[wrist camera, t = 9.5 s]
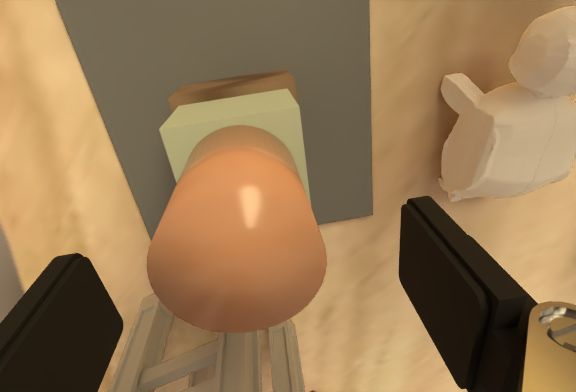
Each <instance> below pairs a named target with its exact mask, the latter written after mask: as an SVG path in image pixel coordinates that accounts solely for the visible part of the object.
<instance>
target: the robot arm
mask: <svg viewBox="0 0 576 392" xmlns="http://www.w3.org/2000/svg"><path fill="white" fill-rule="evenodd" d="M399 278H400V282H401V284H402V286H403V288H404V290H405V292H406V293H407V295H408V297H409V299H410V301H411V302H412V304H413V306H414V308H415V310H416V311H417V313H418V315H419V317H420V319H421V320H422V322H423V324H424V326H425V328H426V330H427V331H428V333H429V335H430V337H431V339H432V340H433V342H434V344H435V346H436V348H437V349H438V351H439V353H440V355H441V357H442V358H443V360H444V362H445V364H446V366H447V367H448V369H449V371H450V373H451V375H452V377H453V378H454V380H455V382H456V384H457V385H458V386H459V387H460V388H461V389H467V391H468V392H576V305H574V304H569V303H564V302H544V303H540V304H538V303H537V302H536V301H535V300H534V299H533V298H532V297H531V296H530V295H529V294H528V293H527V292H526V291H525V290H524V289H523V288H522V287H521V286H520V285H519V284H518V283H517V282H516V281H515V280H514V279H513V278H512V277H511V276H510V275H509V274H508V273H507V272H506V271H505V270H504V269H503V268H502V267H501V266H500V265H499V264H498V263H497V262H496V261H495V260H494V259H493V258H492V257H491V256H490V255H489V254H488V253H487V252H486V251H485V250H484V249H483V248H482V247H481V246H480V245H479V244H478V243H477V242H476V241H475V240H474V239H473V238H472V237H471V236H469V235H467V234H466V233H465V232H464V231H463V230H462V229H461V228H460V227H459V226H458V225H457V224H456V223H455V222H454V221H453V220H452V218H451V217H450V216H449V215H448V214H447V213H446V212H445V211H444V210H443V209H442V208H441V207H440V206H439V205H438V204H437V203H436V202H435V201H434V200H433V199H432V198H431V197H429V196H423V197H417V198H411V199H408V201H407V204H404V205H402V208H401V229H400V253H399ZM122 331H123V320H122V318H121V316H120V314H119V312H118V310H117V309H116V307H115V305H114V303H113V301H112V300H111V298H110V296H109V294H108V292H107V290H106V289H105V287H104V285H103V283H102V281H101V279H100V278H99V276H98V274H97V272H96V270H95V269H94V267H93V265H92V263H91V261H90V260H89V258H87V257H83V255H81V254H79V253H75V254H68V255H62V256H57V257H55V258H54V259H53V260H52V261H51V262H50V264H49V265H48V266H47V267H46V268H45V270H44V271H43V272H42V273H41V275H40V276H39V277H38V278H37V279H36V281H35V282H34V283H33V284H32V285H31V287H30V288H29V289H28V290H27V292H26V293H25V294H24V295H23V297H22V298H21V299H20V300H19V301H18V303H17V304H16V305H15V306H14V308H13V309H12V310H11V311H10V312H9V313H8V315H7V316H6V317H5V318H4V320H3V321H2V322H1V323H0V392H98V389H99V387H100V384H101V382H102V380H103V377H104V375H105V372H106V370H107V368H108V365H109V363H110V360H111V358H112V355H113V353H114V351H115V348H116V346H117V343H118V341H119V339H120V336H121V334H122Z"/></svg>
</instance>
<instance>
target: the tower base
mask: <svg viewBox="0 0 576 392" xmlns="http://www.w3.org/2000/svg"><path fill="white" fill-rule="evenodd" d="M287 88H288V90H289V91H290V93H291V95H292V96H293V98H294V99H295V101H296V102H297V104H298V101H297V93H296V84H295V78H294V77H293V76H292V75H291V74H290V73H289V72H288V70H287V69H281V70H274V71H268V72H262V73H256V74H249V75H243V76H237V77H230V78H224V79H218V80H211V81H205V82H199V83H193V84H186V85H182V86H181V87H180V88H179V89H178V90H177V91H176V92H175V93H173V94H172V95H171V96H170V97H169V98H168V100H169V104H170V107H171V110H172V113H173V112H174V111H175V110H176V109H177V107H178V106H181V105H187V104H193V103H200V102H206V101H212V100H218V99H224V98H231V97H237V96H243V95H249V94H255V93H262V92H268V91H274V90H280V89H287Z"/></svg>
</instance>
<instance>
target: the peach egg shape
mask: <svg viewBox="0 0 576 392" xmlns="http://www.w3.org/2000/svg"><path fill="white" fill-rule="evenodd" d="M326 266H327V255H326V249H325V245H324V242H323V239H322V236H321V234H320V231H319V228H318V225H317V222H316V220H315V217H314V214H313V211H312V208H311V206H310V203H309V200H308V197H307V194H306V192H305V189H304V186H303V183H302V180H301V178H300V175H299V172H298V169H297V166H296V164H295V161H294V158H293V156H292V154H291V152H290V151H289V149H288V148H287V146H286V145H285V144H284V143H283V142H282V141H281V140H280V139H278V138H277V137H276V136H275V135H273V134H271V133H270V132H268V131H265V130H263V129H260V128H257V127H253V126H247V125H234V126H228V127H223V128H221V129H218V130H215V131H213V132H212V133H210V134H208V135H207V136H205V137H204V138H203V139H202V140H201V141H199V142H198V143H197V145H196V146H195V147H194V148H193V150H192V152H191V154H190V155H189V157H188V160H187V162H186V164H185V167H184V169H183V171H182V173H181V176H180V178H179V180H178V182H177V185H176V187H175V189H174V191H173V194H172V196H171V198H170V200H169V203H168V205H167V207H166V209H165V212H164V214H163V216H162V218H161V221H160V223H159V225H158V227H157V230H156V232H155V234H154V236H153V239H152V241H151V244H150V247H149V250H148V256H147V272H148V278H149V281H150V284H151V286H152V288H153V290H154V292H155V294H156V296H157V297H158V298H159V300H160V301H161V302H162V303H163V304H164V306H165V307H166V308H167V309H168V310H170V311H171V312H172V313H173V314H175V315H176V316H178V317H179V318H181V319H182V320H184V321H186V322H188V323H190V324H192V325H195V326H197V327H200V328H203V329H207V330H211V331H216V332H223V333H246V332H253V331H258V330H263V329H267V328H270V327H273V326H275V325H278V324H280V323H282V322H284V321H286V320H288V319H290V318H291V317H293V316H294V315H296V314H297V313H299V312H300V311H301V310H302V309H303V308H305V307H306V306H307V305H308V304H309V303H310V301H311V300H312V299H313V298H314V297H315V295H316V294H317V292H318V291H319V289H320V287H321V284H322V282H323V279H324V276H325V273H326Z"/></svg>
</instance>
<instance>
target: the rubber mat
mask: <svg viewBox="0 0 576 392" xmlns="http://www.w3.org/2000/svg"><path fill="white" fill-rule="evenodd" d="M55 1H56V4H57V6H58V9H59V11H60V14H61V16H62V19H63V21H64V24H65V26H66V29H67V31H68V34H69V36H70V39H71V41H72V44H73V46H74V49H75V51H76V54H77V56H78V59H79V61H80V64H81V66H82V69H83V71H84V74H85V76H86V79H87V81H88V84H89V86H90V88H91V91H92V93H93V96H94V98H95V101H96V103H97V106H98V108H99V111H100V113H101V116H102V118H103V121H104V123H105V126H106V128H107V131H108V133H109V136H110V138H111V141H112V143H113V146H114V148H115V151H116V153H117V156H118V158H119V161H120V163H121V166H122V168H123V171H124V173H125V176H126V178H127V181H128V183H129V186H130V188H131V190H132V193H133V195H134V198H135V200H136V203H137V205H138V208H139V210H140V213H141V215H142V218H143V220H144V223H145V225H146V228H147V230H148V233H149V235H150V238H151V240H152V239H153V236H154V234H155V232H156V230H157V227H158V225H159V223H160V221H161V218H162V216H163V214H164V212H165V209H166V207H167V205H168V203H169V200H170V198H171V196H172V194H173V191H174V189H175V187H176V185H177V183H176V180H175V177H174V174H173V171H172V168H171V165H170V161H169V158H168V155H167V152H166V149H165V146H164V143H163V140H162V137H161V134H160V131H159V129H160V127H161V126H162V125H163V124H164V123H165V122H166V120H167V119H168V118H169V117H170V116H171V114H172V110H171V107H170V104H169V100H168V98H169V97H170V96H171V95H172V94H173V93H175V92H176V91H177V90H178V89H179V88H180V87H181V86H182V85H186V84H193V83H199V82H205V81H211V80H218V79H224V78H230V77H237V76H243V75H249V74H256V73H262V72H268V71H274V70H281V69H287V70H288V72H289V73H290V74H291V75H292V76H293V77H294V78H295V84H296V93H297V101H298V105H299V108H300V117H301V125H302V133H303V142H304V150H305V159H306V167H307V176H308V184H309V193H310V201H311V208H312V211H313V214H314V217H315V220H316V222H317V225H319V224H324V223H330V222H336V221H341V220H347V219H352V218H358V217H364V216H369V215H373V196H372V137H371V78H370V20H369V0H55Z"/></svg>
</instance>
